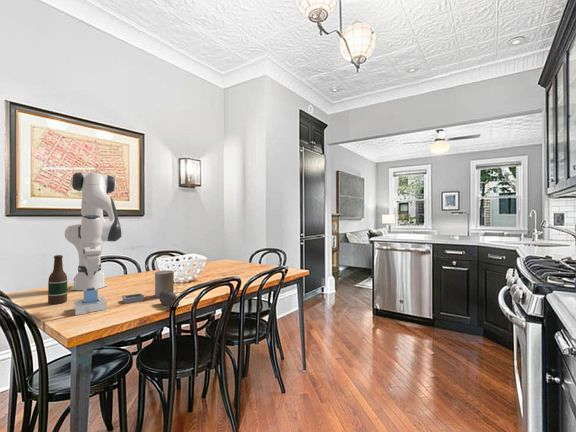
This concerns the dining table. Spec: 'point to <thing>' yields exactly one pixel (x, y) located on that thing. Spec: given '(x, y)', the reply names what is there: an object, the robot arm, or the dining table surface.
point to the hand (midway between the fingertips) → (90, 278)
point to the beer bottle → (57, 283)
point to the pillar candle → (164, 282)
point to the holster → (132, 298)
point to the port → (89, 306)
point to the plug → (90, 295)
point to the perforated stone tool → (167, 298)
